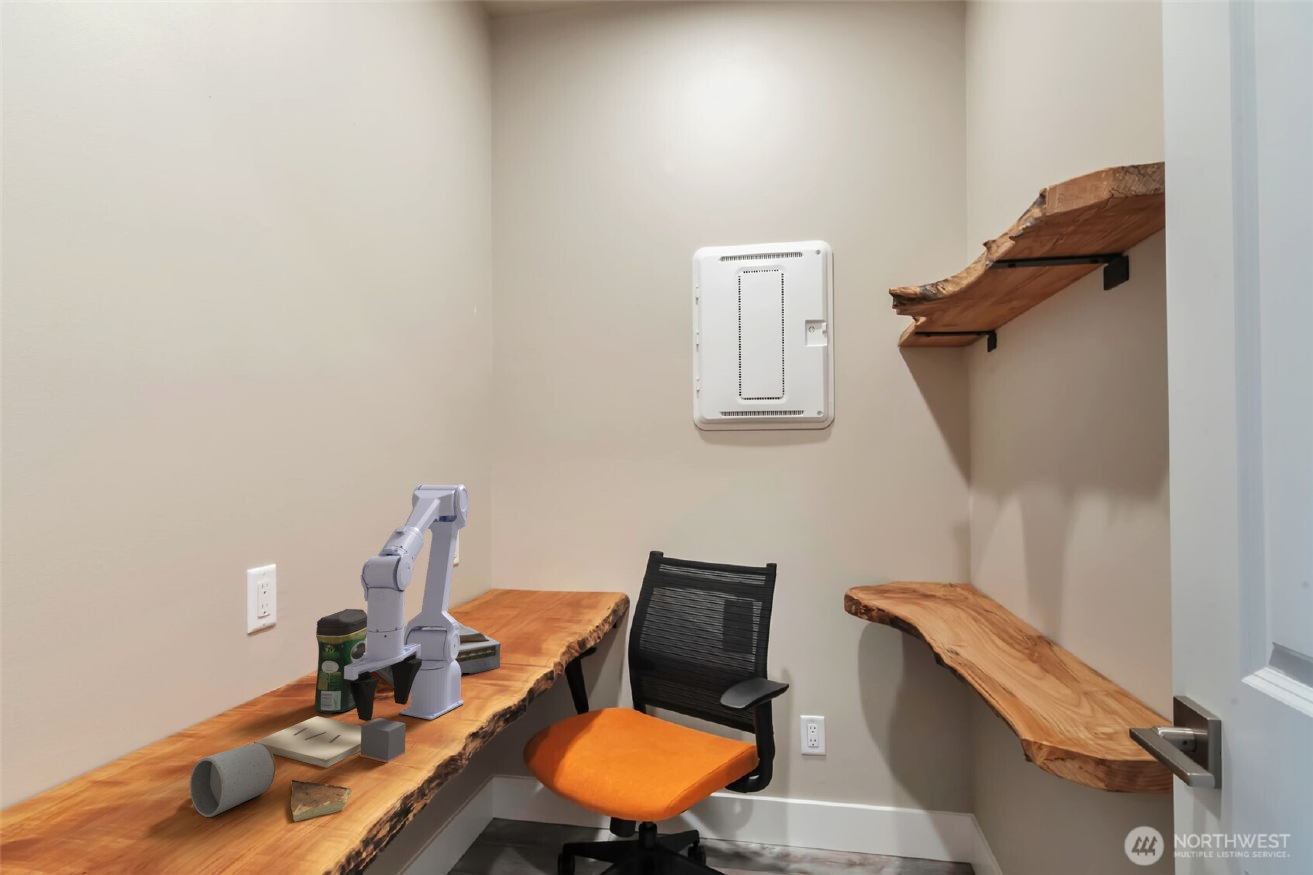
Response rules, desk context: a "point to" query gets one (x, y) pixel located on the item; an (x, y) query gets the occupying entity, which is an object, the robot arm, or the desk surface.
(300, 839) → the desk surface
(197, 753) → the desk surface
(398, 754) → the block
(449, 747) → the desk surface
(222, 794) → the ceramic mug
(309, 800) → the shard
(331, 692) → the coffee jar
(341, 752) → the cream flat board
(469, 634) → the bible
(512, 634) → the desk surface
